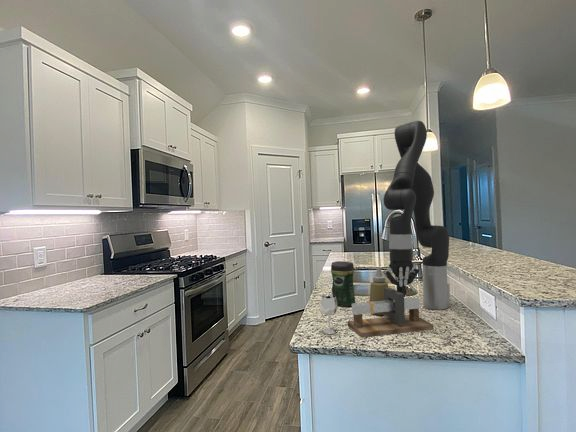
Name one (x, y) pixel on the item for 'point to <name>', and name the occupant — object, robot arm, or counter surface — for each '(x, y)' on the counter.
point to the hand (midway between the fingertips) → (401, 296)
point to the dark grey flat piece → (399, 305)
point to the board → (388, 325)
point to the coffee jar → (343, 282)
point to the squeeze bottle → (378, 288)
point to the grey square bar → (383, 306)
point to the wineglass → (329, 309)
